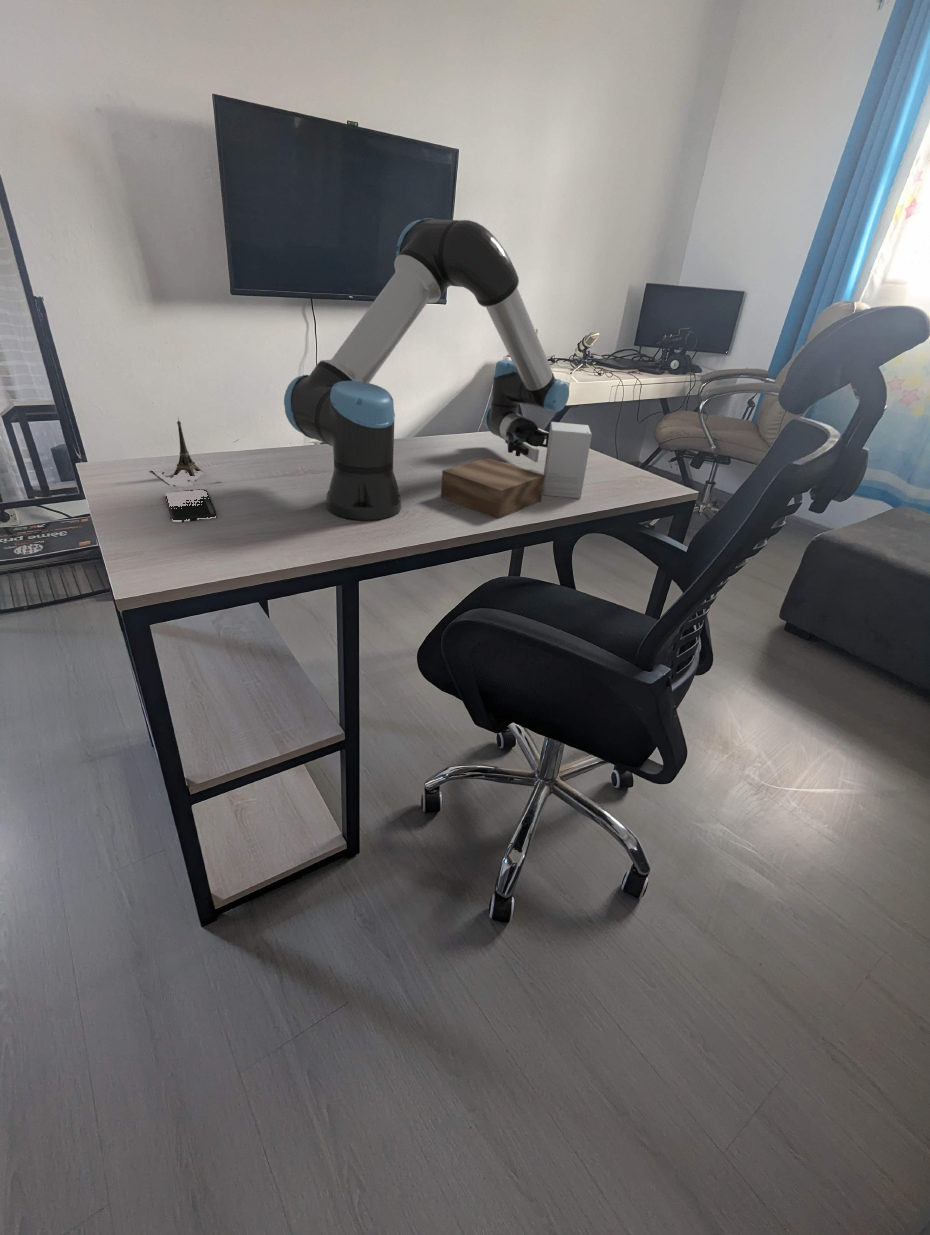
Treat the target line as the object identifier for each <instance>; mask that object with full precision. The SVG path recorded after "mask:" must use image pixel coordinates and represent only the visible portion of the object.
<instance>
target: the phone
mask: <svg viewBox="0 0 930 1235" xmlns="http://www.w3.org/2000/svg"><path fill="white" fill-rule="evenodd" d="M200 489H201V488H199V489H197V490H200ZM189 490H190V491H193V490H194V489H186V490H184V491H189ZM201 490H204V491H206V492H207V495H208V496H207V497H204V496H203V497H201V498H203V499H200V500H198V501H200V503H199V502H197V503H196V506H195V505H194V506H192V504H193V503H192V502H191V505H190V506H189V504H190V502H189V503H187V502H186V504H188V506H187V505H186V506H182V507H181V506H180V507H178V506H174V507H173V506H172V507H171V506H170V507H169V503H168V499H167V496H165V500H166V499H167V502H166V504H167V503H168V504H167V507H169V508H168V511H170V512H169V515H171V516H170V519H173V520H186V519H187V520H188V519H191V520H196V519H195V518H207V517H208V518H210V517H215V516H216V515H218V514H217V511H216V509H215V506H214V504H213V501H212V499H211V497H210V495H209V492H208V490H207V489H203V488H202V489H201ZM204 498H206V499H204ZM208 498H209V499H208ZM186 501H189V500H186ZM190 501H191V500H190ZM194 501H197V499H196V500H194ZM201 501H203V502H202V503H201ZM183 504H185V503H183ZM194 504H195V502H194ZM197 504H200V505H198V506H197ZM201 504H202V505H201ZM171 508H172V509H171ZM174 508H175V509H174ZM176 508H177V509H176ZM181 508H182V509H181Z"/></svg>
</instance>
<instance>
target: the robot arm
mask: <svg viewBox="0 0 930 1235" xmlns="http://www.w3.org/2000/svg"><path fill="white" fill-rule="evenodd" d="M396 246H397V249H398V250H396V251H395V252H396V253H395V254H396V256H395V257H396V258H395V260H394V261H393V265H394V270H395V273H394V274H393V275H392V276H391V278H390V279H389V281H387V283H386V285H385V286H384V287H383V288H382V290H381V292H380V293H379V294H378V296H377V297H376V298H375V300H374V301H373V302H372V303H371V305H370V306H369V308H368V309H367V310H366V312H365V313H364V314H363V316H362V317H361V319H359V321H358V323H357V324H356V325H355V326H354V328H353V329H352V330H351V332H350V333H349V335H348V336H347V337H346V339H345V340H344V341H343V343H342V345H341V346H340V347H339V348H338V350H337V351H336V352H335V354H334V355H333V356H332V358H331V359H324V360H322V359H321V360H320V361H319V362H318V363H317V364H316V366H315V367H314V368H313V370H312V371H311V373H310V374H303V375H300V376H297V377H295V378H294V379H292V380H291V382H289V384H288V385H287V387H286V390H285V393H284V396H283V405H284V413H285V415H286V418H287V420H288V423H289V424H290V425H291V426H292V427H293V428H294V429H295V430H296V431H297V432H299V433H301V434H303V436H305V437H306V438H309V439H314V440H316V441H319V442H321V443H323V444H326V445H329V446H330V447H332V450H333V452H332V453H333V454H332V455H333V472H332V475H331V476H332V477H331V481H330V485H329V489H328V491H327V493H326V496H325V497H326V498H325V500H326V509H327V510H328V512H330V513H332V514H333V515H336V516H337V517H341V518H345V519H350V520H359V521H373V520H375V521H376V520H382V519H386V518H390V517H393V516H396V515H397V514H399V513H400V511H401V509H402V495H401V493H400V492H399V487H398V483H397V480H396V477H395V473H394V452H395V451H394V448H395V447H394V444H395V418H396V417H395V416H396V414H395V407H394V405H395V404H394V398H393V395H391V393H390V392H389V391H388V390H387V389H385V388H384V387H382V386H379V385H376V384H374V383H371V382H372V380H373V379H374V377H375V376H376V374H377V373H378V372H379V370H380V369H381V368H382V366H383V365H384V363H385V362H386V361H387V359H388V358H389V356H390V355H391V354H392V352H393V351H394V350H395V348H396V346H397V345H398V344H399V342H401V341H402V340H401V339H403V337H404V336H405V335H406V333H407V332H408V330H409V329H410V327H411V326H412V325H413V323H414V322H415V320H416V319H417V318H418V317H419V315H420V314H421V312H422V311H423V309H424V308H425V307H426V305H427V304H436V303H437V302H438V301H439V300H440V299H441V297H442V296H443V295H444V293H445V292H446V290H447V289H448V288H449V287H459V288H464V289H466V290H468V291H469V292H470V293H471V294H473V295H474V298H475V299H476V302H477V303H478V304H479V305H480V306H481V307H483V308H486V310H487V312H488V314H489V317H490V318H491V321H492V324H494V327H495V329H496V331H497V333H498V336H499V337H500V339H501V341H502V343H503V345H504V347H505V349H506V351H507V354H508V356H509V358H510V360H508V359H506V360H505V359H502V360H501V359H500V360H498V361H497V362H496V364H495V367H494V374H493V377H492V380H493V381H492V394H491V403H490V406H489V407H488V408H487V409H486V411H485V413H484V414H483V424H484V427H485V428H486V429H487V430H488V431H489V432H490V433H492V435H494V436H497V437H499V438H501V439H503V440H504V443H505V444H507V453H510V454H511V453H514V452H515V457H521V455H523V456H525V457H526V458H528V459H530V460H531V461H533V462H534V463H536V462H539V461H538V460H539V453H540V449H539V448H537V447H541V448H545V449H547V446H548V439H549V432H550V430H549V431H548V432H546V431H542V430H539V428H538V425H537V424H536V422H534V421H533V420H531V419H529V418H526V417H525V416H523V415H522V414H519V406H520V404H523V405H527V406H530V407H533V408H536V409H541V410H543V411H547V412H549V411H550V412H555V413H557V412H560V411H562V410H563V409H564V408H565V406H566V405H567V403H568V401H569V398H570V397H569V396H570V386H569V384H568V383H567V382H566V381H564V380H561V379H559V378H556V377H555V375H554V373H553V370H552V367H551V365H550V362H549V361H548V358H547V356H546V354H545V351H544V348H543V346H542V344H541V341H540V339H539V336H538V334H537V332H536V330H535V327H534V325H533V322H532V320H531V318H530V317H531V316H530V314H529V313H528V310H527V308H526V306H525V302H524V300H523V299H522V295H521V294H520V291H519V289H518V287H519V284H520V279H519V276H518V273H517V271H516V268H515V267H514V265H513V262H512V260H511V258H510V257H509V254H508V253H507V251H506V250H505V248H504V247H503V245H502V244H501V243H500V242H499V240H498V238H497V237H496V236H495V235H494V234H493V233H491V232H490V230H489V229H488V228H486V227H484V226H483V225H482V224H480V223H478V222H476V221H472V220H470V219H469V220H468V219H462V220H458V219H441V218H440V219H439V218H438V219H437V218H428V217H427V218H423V219H418V220H415V221H412V222H410V223H409V224H408V225H407V226H406V227H405V228H404V229H403V230H402V232H401V234H400V236H399V238H398V240H397V244H396Z"/></svg>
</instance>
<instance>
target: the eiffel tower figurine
mask: <svg viewBox="0 0 930 1235" xmlns="http://www.w3.org/2000/svg"><path fill="white" fill-rule="evenodd" d="M177 419H178V420H177V422H176V424H177V427H178V436H179V437H178V438H179V458H178V459H179V460H178V463H177V464H176V469H175V471H174V473H173V475H177V474H178V473H179V472H180V471H181V470H185V472H188V473H189V475H190V476H195V475H194V473H195V472H194V470H195V471H196V472H197V471H202V470H201V469H200V468H199V467H198V466H197V465H196V462H195V461H193V459H192V457H191V455H190V452H189V451H188V448H187V446H186V445H187V444H186V441H185V437H184V434H183V428H182V423H181V422H182V421H180V420H179V418H177Z"/></svg>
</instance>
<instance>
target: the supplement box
mask: <svg viewBox="0 0 930 1235" xmlns="http://www.w3.org/2000/svg"><path fill="white" fill-rule="evenodd" d="M549 425H550V426H549V431H550V432H549V431H548V433H549V439H548V446H547V448H546V455H545V460H544V461H545V462H544V468H543V474H542V475H545V479H544V485H543V492H542V496H549V497H562V498H572V499H581V498H582V493H583V488H584V487H583V486H584V481H585V476H586V471H587V463H588V458H589V452H590V449H591V448H590V447H591V441H592V432H591V429H590V426H589V425H588V424H577V423H569V422H568V423H567V422H560V421H559V422H558V421H557V422H556V421H550V424H549Z"/></svg>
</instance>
